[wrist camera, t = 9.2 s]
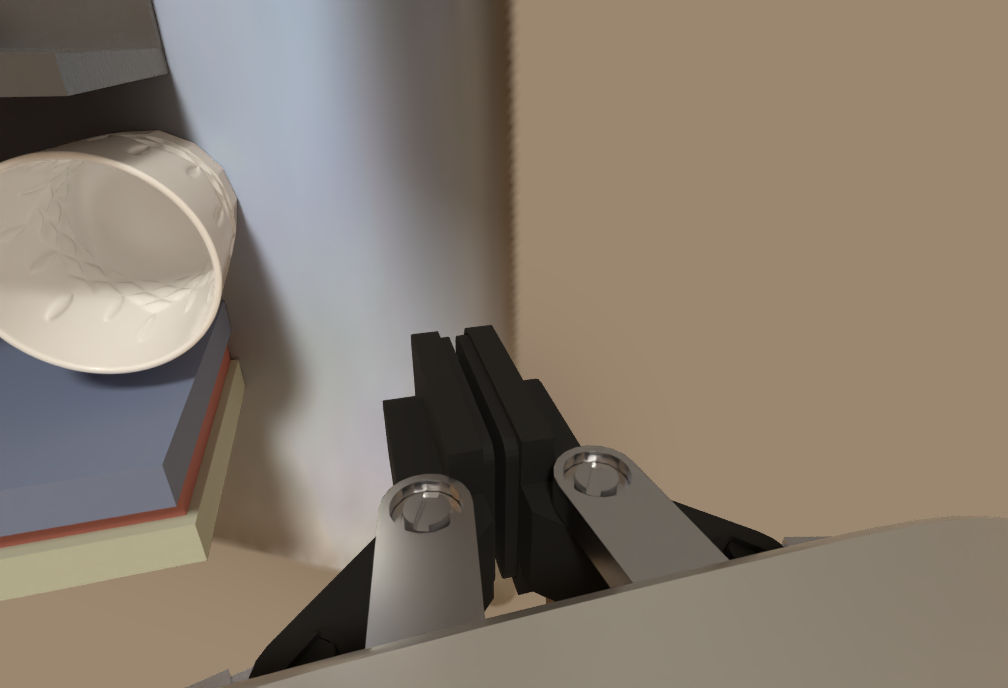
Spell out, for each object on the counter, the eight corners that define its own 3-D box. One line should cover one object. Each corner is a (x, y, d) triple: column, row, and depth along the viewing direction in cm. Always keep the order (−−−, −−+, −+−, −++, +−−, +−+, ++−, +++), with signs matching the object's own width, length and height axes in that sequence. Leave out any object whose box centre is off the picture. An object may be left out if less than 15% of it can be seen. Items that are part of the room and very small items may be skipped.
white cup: (206, 305, 31) (161, 406, 22) (36, 225, 27) (-95, 310, 19) (280, 180, 29) (262, 239, 20) (109, 77, 25) (2, 95, 17)
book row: (5, 321, 28) (-223, 525, 17) (224, 300, 31) (162, 464, 19) (46, 413, 31) (-126, 647, 19) (245, 387, 33) (202, 581, 22)
